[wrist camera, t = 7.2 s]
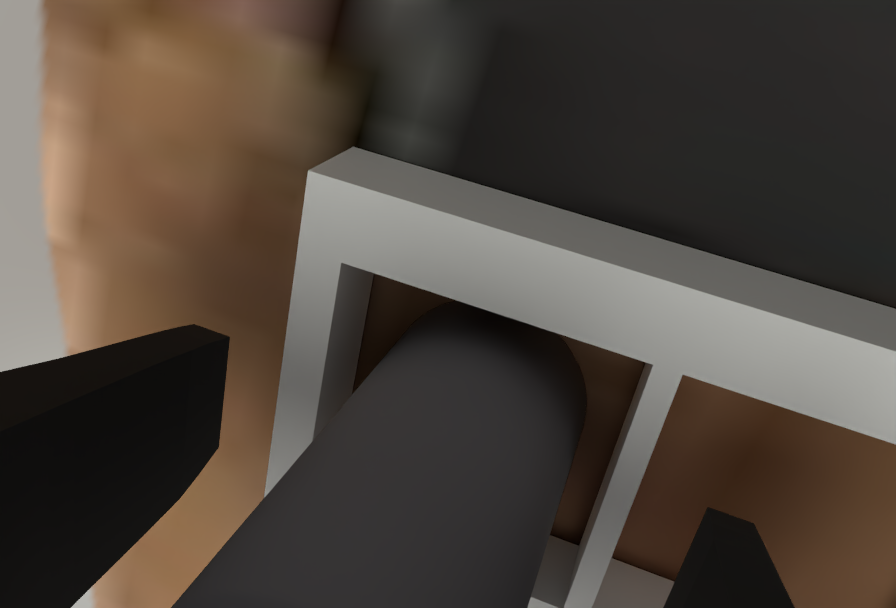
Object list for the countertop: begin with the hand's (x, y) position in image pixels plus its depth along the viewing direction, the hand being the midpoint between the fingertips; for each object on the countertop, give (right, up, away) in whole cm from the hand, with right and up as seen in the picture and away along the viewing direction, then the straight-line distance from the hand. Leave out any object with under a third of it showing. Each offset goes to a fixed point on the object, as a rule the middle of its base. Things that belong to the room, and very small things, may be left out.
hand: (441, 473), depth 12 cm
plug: (+1, +1, +2) cm, 2 cm away
